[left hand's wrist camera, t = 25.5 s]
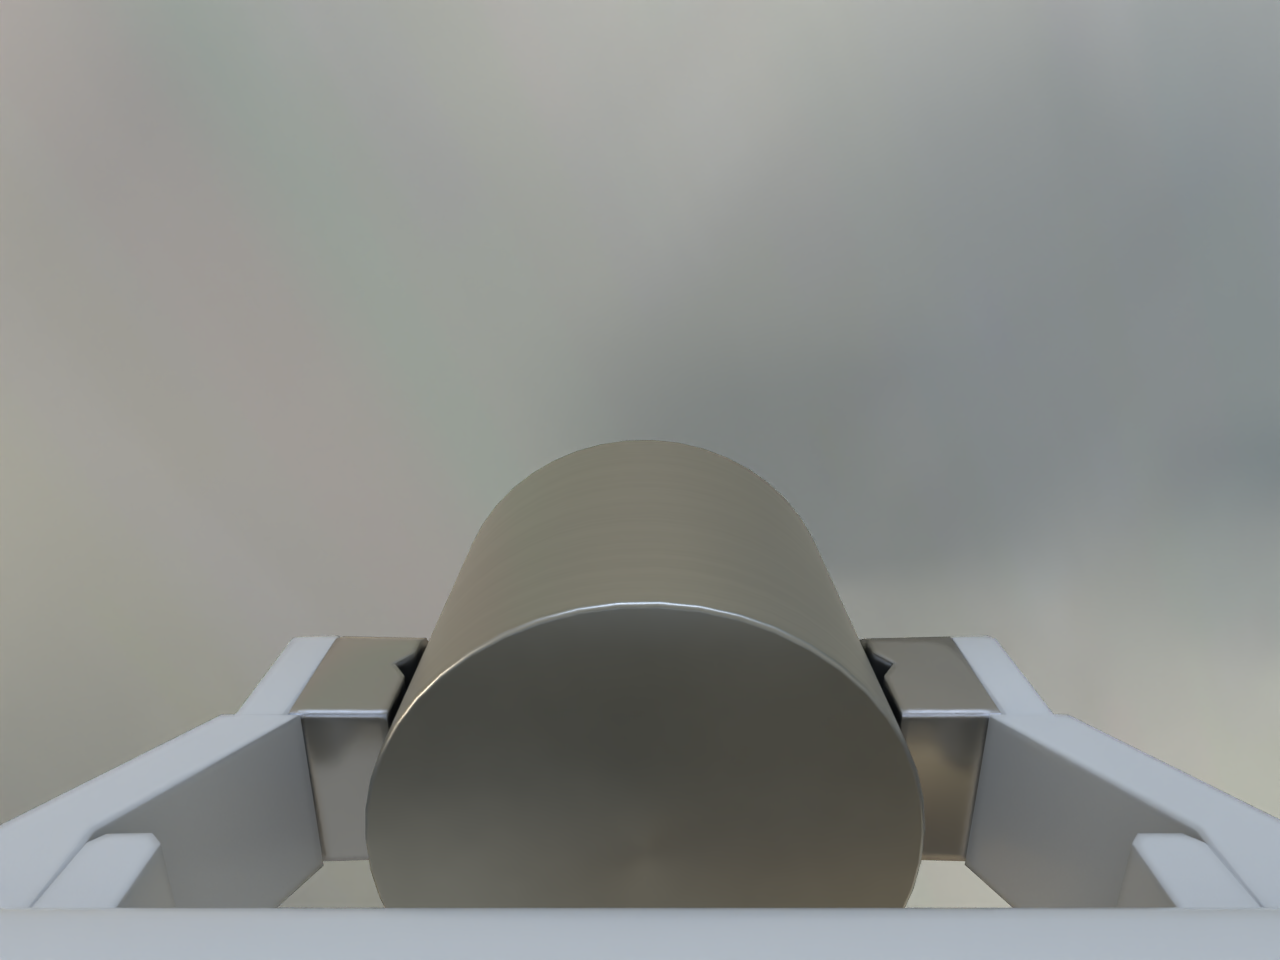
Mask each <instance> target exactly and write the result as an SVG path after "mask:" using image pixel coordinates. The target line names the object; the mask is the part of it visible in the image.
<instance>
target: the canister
mask: <svg viewBox="0 0 1280 960" xmlns="http://www.w3.org/2000/svg"><path fill="white" fill-rule="evenodd" d="M924 834H925V817H924V799H923V794H922V790H921V785H920V781H919V776H918V771H917V768H916V766H915V763H914V761H913V758H912V756H911V753H910V751H909V748H908V746H907V743H906V741H905V739H904V736H903V734H902V732H901V730H900V728H899V725H898V723H897V721H896V719H895V717H894V715H893V712H892V710H891V708H890V706H889V704H888V702H887V699H886V697H885V695H884V693H883V691H882V688H881V686H880V684H879V682H878V680H877V678H876V675H875V673H874V671H873V669H872V667H871V665H870V662H869V660H868V658H867V656H866V654H865V651H864V649H863V647H862V645H861V643H860V641H859V638H858V636H857V634H856V632H855V630H854V628H853V625H852V623H851V621H850V619H849V617H848V615H847V612H846V610H845V608H844V606H843V604H842V601H841V599H840V597H839V595H838V593H837V591H836V588H835V586H834V584H833V582H832V580H831V578H830V575H829V573H828V571H827V569H826V567H825V564H824V562H823V560H822V558H821V556H820V554H819V551H818V549H817V547H816V545H815V543H814V541H813V538H812V537H811V535H810V533H809V531H808V530H807V528H806V526H805V525H804V523H803V521H802V519H801V518H800V517H799V515H798V514H797V513H796V512H795V510H794V509H793V508H792V507H791V505H790V504H789V503H788V502H787V500H786V499H785V498H784V497H783V496H781V495H780V494H779V493H778V492H777V491H776V490H775V489H774V488H773V487H772V486H771V485H770V484H769V483H767V482H766V481H765V480H763V479H762V478H760V477H759V476H758V475H756V474H755V473H753V472H752V471H751V470H749V469H747V468H746V467H744V466H742V465H740V464H738V463H736V462H734V461H732V460H730V459H729V458H727V457H724V456H721V455H719V454H716V453H713V452H711V451H708V450H705V449H702V448H698V447H694V446H689V445H685V444H681V443H675V442H665V441H656V440H636V441H621V442H614V443H607V444H601V445H597V446H594V447H590V448H586V449H583V450H579V451H576V452H574V453H571V454H569V455H567V456H564V457H562V458H559V459H557V460H555V461H553V462H551V463H549V464H547V465H546V466H544V467H542V468H541V469H539V470H537V471H536V472H534V473H532V474H531V475H529V476H528V477H527V478H526V479H524V480H523V481H522V482H521V483H519V484H518V485H517V486H515V487H514V488H513V489H512V490H511V491H510V492H509V493H508V494H507V495H506V496H505V497H504V498H503V499H502V500H501V501H500V502H499V503H498V504H497V505H496V507H495V508H494V509H493V511H492V512H491V514H490V515H489V516H488V518H487V519H486V520H485V522H484V523H483V525H482V527H481V528H480V530H479V532H478V534H477V536H476V538H475V540H474V542H473V544H472V546H471V548H470V550H469V552H468V555H467V557H466V559H465V561H464V564H463V566H462V568H461V570H460V573H459V575H458V577H457V579H456V582H455V584H454V586H453V588H452V591H451V593H450V595H449V597H448V599H447V602H446V604H445V606H444V608H443V611H442V613H441V615H440V617H439V620H438V622H437V624H436V626H435V629H434V631H433V633H432V635H431V638H430V640H429V642H428V644H427V647H426V649H425V651H424V653H423V656H422V658H421V660H420V662H419V664H418V667H417V669H416V671H415V673H414V676H413V678H412V680H411V682H410V685H409V687H408V689H407V691H406V694H405V696H404V698H403V700H402V703H401V705H400V707H399V709H398V712H397V714H396V716H395V718H394V721H393V723H392V725H391V727H390V730H389V732H388V734H387V736H386V738H385V741H384V743H383V745H382V747H381V750H380V753H379V755H378V758H377V761H376V764H375V767H374V770H373V773H372V776H371V779H370V784H369V790H368V796H367V802H366V808H365V839H366V845H367V851H368V857H369V863H370V869H371V872H372V875H373V878H374V881H375V884H376V887H377V890H378V893H379V896H380V899H381V901H382V903H383V905H384V906H385V908H905V906H906V904H907V902H908V900H909V897H910V895H911V893H912V891H913V889H914V885H915V882H916V878H917V874H918V871H919V867H920V864H921V860H922V852H923V843H924Z"/></svg>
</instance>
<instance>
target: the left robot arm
mask: <svg viewBox="0 0 1280 960" xmlns="http://www.w3.org/2000/svg"><path fill="white" fill-rule="evenodd" d="M859 641H860V643H861V645H862V647H863V649H864V651H865V654H866V656H867V658H868V660H869V662H870V665H871V667H872V669H873V671H874V673H875V675H876V678H877V680H878V682H879V684H880V686H881V688H882V691H883V693H884V695H885V697H886V699H887V702H888V704H889V706H890V708H891V710H892V712H893V715H894V717H895V719H896V721H897V723H898V725H899V728H900V730H901V732H902V734H903V736H904V739H905V741H906V743H907V746H908V748H909V751H910V753H911V756H912V758H913V761H914V763H915V766H916V768H917V771H918V776H919V781H920V785H921V790H922V794H923V799H924V817H925V834H924V843H923V852H922V860H944V861H965V865H966V866H967V867H968V868H969V869H970V870H971V871H972V872H974V873H975V874H976V875H977V876H978V877H979V878H980V879H981V880H983V881H984V882H985V883H986V884H987V885H988V886H989V887H990V888H991V889H993V890H994V891H995V892H996V893H997V894H998V895H999V896H1000V897H1001V898H1003V899H1004V900H1005V901H1006V902H1007V903H1008V904H1009V905H1010V906H1012V907H1013V908H277V907H278V906H279V905H280V904H281V903H282V902H284V901H285V900H286V899H287V898H288V897H289V896H290V895H291V894H292V893H293V892H295V891H296V890H297V889H298V888H299V887H300V886H301V885H302V884H303V883H305V882H306V881H307V880H308V879H309V878H310V877H311V876H312V875H313V874H315V873H316V872H317V871H318V870H319V869H320V868H321V867H322V866H323V861H344V860H369V857H368V851H367V845H366V839H365V808H366V802H367V796H368V790H369V784H370V779H371V776H372V773H373V770H374V767H375V764H376V761H377V758H378V755H379V753H380V750H381V747H382V745H383V743H384V741H385V738H386V736H387V734H388V732H389V730H390V727H391V725H392V723H393V721H394V718H395V716H396V714H397V712H398V709H399V707H400V705H401V703H402V700H403V698H404V696H405V694H406V691H407V689H408V687H409V685H410V682H411V680H412V678H413V676H414V673H415V671H416V669H417V667H418V664H419V662H420V660H421V658H422V656H423V653H424V651H425V649H426V647H427V644H428V640H427V638H401V637H349V636H343V637H340V636H300V637H296V638H293V639H292V640H291V641H290V642H289V643H288V644H287V646H286V647H285V648H284V650H283V651H282V652H281V654H280V655H279V656H278V658H277V659H276V660H275V662H274V663H273V664H272V666H271V667H270V668H269V670H268V671H267V673H266V674H265V675H264V677H263V678H262V679H261V681H260V682H259V683H258V685H257V686H256V687H255V689H254V690H253V691H252V693H251V694H250V695H249V697H248V698H247V699H246V701H245V702H244V703H243V705H242V706H241V707H240V709H239V710H238V711H237V713H236V714H235V715H220V716H218V717H216V718H214V719H212V720H210V721H208V722H206V723H204V724H202V725H200V726H198V727H196V728H194V729H192V730H190V731H188V732H186V733H184V734H182V735H180V736H177V737H175V738H173V739H171V740H169V741H167V742H165V743H163V744H161V745H159V746H157V747H155V748H153V749H151V750H149V751H147V752H145V753H143V754H141V755H139V756H137V757H135V758H133V759H131V760H129V761H127V762H125V763H123V764H121V765H119V766H117V767H115V768H113V769H111V770H109V771H107V772H105V773H103V774H101V775H99V776H97V777H95V778H93V779H91V780H89V781H87V782H85V783H83V784H81V785H79V786H77V787H75V788H73V789H71V790H69V791H67V792H65V793H63V794H61V795H59V796H57V797H55V798H53V799H51V800H49V801H47V802H45V803H43V804H41V805H39V806H37V807H35V808H33V809H31V810H29V811H27V812H25V813H23V814H21V815H19V816H17V817H15V818H13V819H11V820H9V821H7V822H5V823H3V824H1V825H0V960H1280V820H1279V819H1277V818H1275V817H1273V816H1271V815H1269V814H1267V813H1265V812H1263V811H1261V810H1259V809H1257V808H1255V807H1253V806H1251V805H1249V804H1247V803H1245V802H1243V801H1241V800H1239V799H1237V798H1235V797H1233V796H1231V795H1229V794H1227V793H1225V792H1223V791H1221V790H1219V789H1217V788H1215V787H1213V786H1211V785H1209V784H1207V783H1205V782H1203V781H1201V780H1199V779H1197V778H1195V777H1193V776H1191V775H1189V774H1187V773H1185V772H1183V771H1181V770H1179V769H1177V768H1175V767H1173V766H1171V765H1169V764H1167V763H1165V762H1163V761H1161V760H1158V759H1156V758H1154V757H1152V756H1150V755H1148V754H1146V753H1144V752H1142V751H1140V750H1138V749H1136V748H1134V747H1132V746H1130V745H1128V744H1126V743H1124V742H1122V741H1120V740H1118V739H1116V738H1114V737H1112V736H1110V735H1108V734H1106V733H1104V732H1102V731H1100V730H1098V729H1096V728H1094V727H1092V726H1090V725H1088V724H1086V723H1084V722H1082V721H1080V720H1078V719H1076V718H1074V717H1072V716H1070V715H1054V714H1053V712H1052V711H1051V710H1050V708H1049V707H1048V706H1047V705H1046V703H1045V702H1044V701H1043V699H1042V698H1041V697H1040V695H1039V694H1038V693H1037V692H1036V690H1035V689H1034V688H1033V686H1032V685H1031V684H1030V682H1029V681H1028V680H1027V679H1026V677H1025V676H1024V675H1023V673H1022V672H1021V671H1020V669H1019V668H1018V667H1017V666H1016V664H1015V663H1014V662H1013V660H1012V659H1011V658H1010V657H1009V655H1008V654H1007V653H1006V651H1005V650H1004V649H1003V647H1002V646H1001V645H1000V644H999V642H998V641H997V640H996V639H995V638H993V637H990V636H988V635H984V636H960V637H912V638H871V639H861V640H859Z"/></svg>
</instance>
